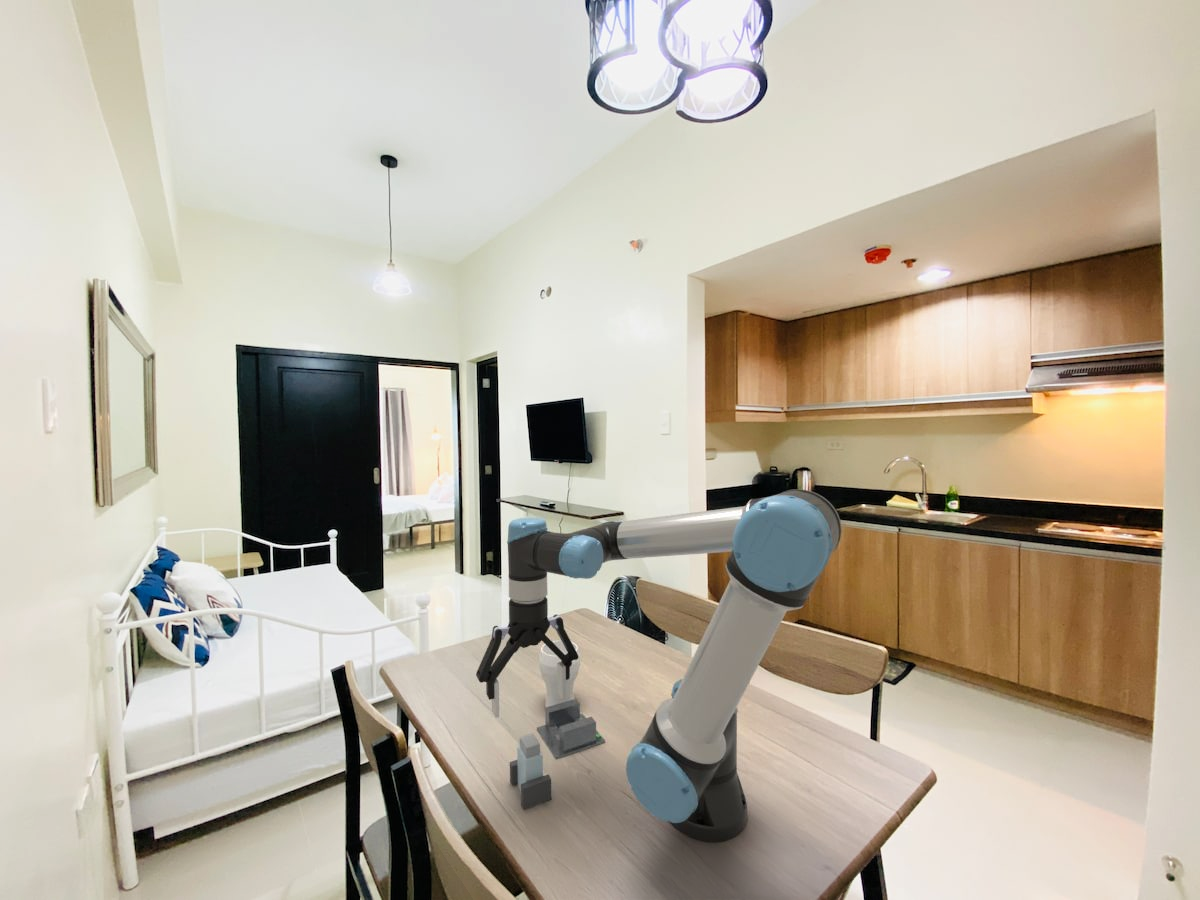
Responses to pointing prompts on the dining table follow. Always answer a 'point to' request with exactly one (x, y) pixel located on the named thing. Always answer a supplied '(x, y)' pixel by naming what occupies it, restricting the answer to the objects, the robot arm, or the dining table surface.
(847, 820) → the dining table surface
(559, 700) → the cup
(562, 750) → the port
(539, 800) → the pair of dark bars
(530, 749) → the plug
